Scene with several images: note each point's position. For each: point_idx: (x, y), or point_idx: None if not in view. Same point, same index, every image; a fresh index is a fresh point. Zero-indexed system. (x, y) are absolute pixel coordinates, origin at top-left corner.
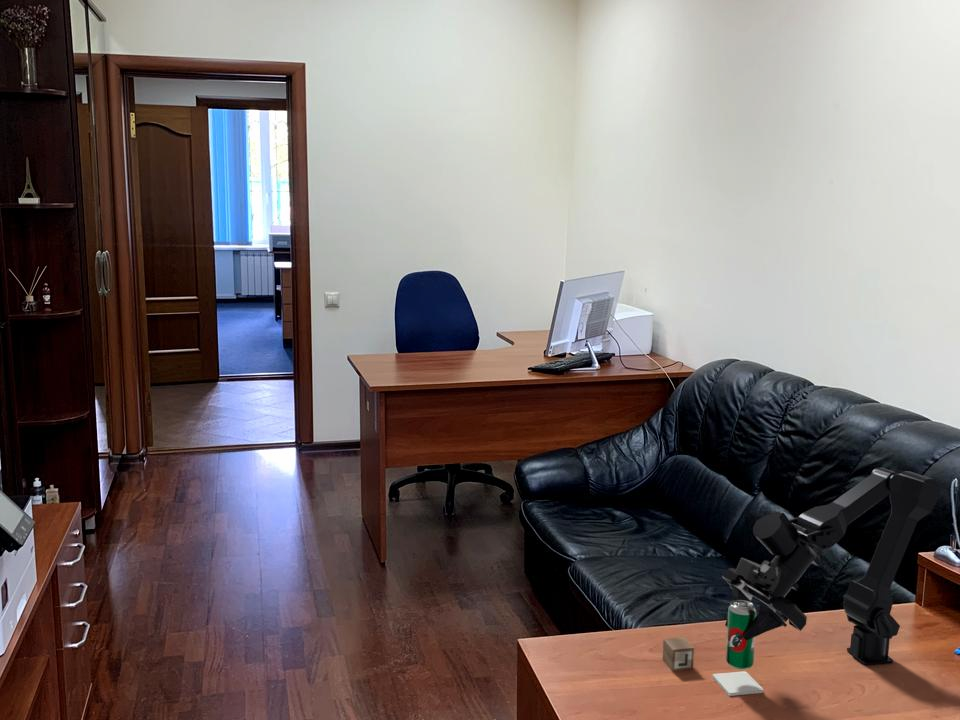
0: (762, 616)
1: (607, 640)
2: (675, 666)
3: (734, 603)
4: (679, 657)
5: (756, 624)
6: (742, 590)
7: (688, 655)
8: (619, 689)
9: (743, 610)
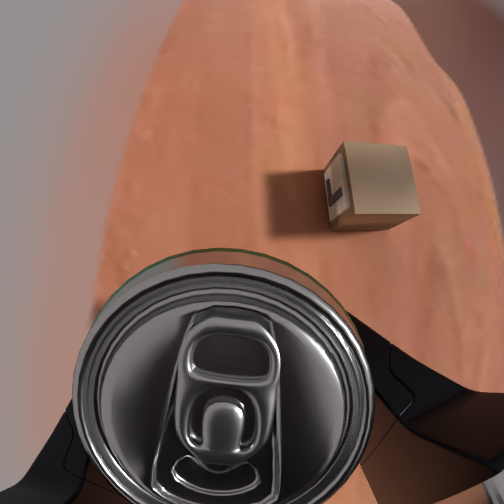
0: (31, 475)
1: (444, 103)
2: (325, 172)
3: (272, 330)
4: (335, 173)
5: (64, 415)
6: (479, 497)
7: (340, 200)
8: (246, 44)
9: (81, 361)
